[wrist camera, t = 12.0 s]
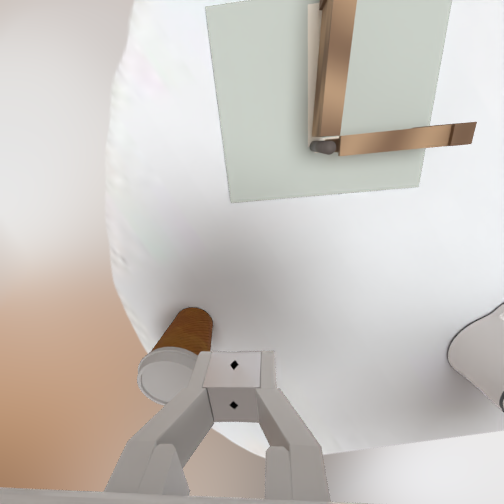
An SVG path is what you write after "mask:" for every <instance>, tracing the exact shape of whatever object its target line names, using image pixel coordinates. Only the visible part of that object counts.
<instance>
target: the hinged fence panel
mask: <svg viewBox="0 0 504 504" xmlns="http://www.w3.org/2000/svg"><path fill="white" fill-rule="evenodd" d="M356 5H357V0H320V4H319V10H322V18H321V30H320V42H319V55H318V67H317V79H316V91H315V103H314V115H313V127H312V137H326V136H340V132H341V124H342V116H343V108H344V100H345V92H346V84H347V76H348V68H349V60H350V52H351V44H352V37H353V29H354V21H355V13H356Z"/></svg>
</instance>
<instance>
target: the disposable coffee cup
mask: <svg viewBox="0 0 504 504" xmlns="http://www.w3.org/2000/svg"><path fill="white" fill-rule="evenodd" d="M212 327H213V321H212V319H211V317H210V315H209V314H208V313H207V312H205V311H204V310H202V309H199V308H186V309H183V310H182V311H180V312H179V313H178V315H177V316H176V318H175V319H174V321H173V322H172V323H171V325H170V326H169V327H168V329H167V330H166V332H165V333H164V334H163V336H162V337H161V339H160V340H159V341H158V343H157V344H156V345H155V347H154V348H153V350H152V351H151V352H150V353H149V354H147V355H146V356H145V357H144V358H143V359H142V360H141V362H140V364H139V366H138V377H137V383H138V386H139V388H140V390H141V391H142V392H143V393H144V394H145V396H146V397H147V398H149V399H150V400H152V401H154V402H156V403H158V404H161V405H164V406H165V405H166V404H167V403H168V402H169V401H170V400H172V399H173V398H174V397H175V396H176V395H177V394H178V393H179V392H180V391H181V390H182V389H183V388H187V387H188V384H189V381H190V378H191V375H192V372H193V370H194V367H195V364H196V361H197V358H198V355H199V353H200V352H201V351H210V347H211V337H212Z"/></svg>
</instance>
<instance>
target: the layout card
mask: <svg viewBox="0 0 504 504" xmlns="http://www.w3.org/2000/svg"><path fill="white" fill-rule="evenodd" d="M451 3H452V0H357V5H356V13H355V21H354V29H353V37H352V44H351V52H350V60H349V68H348V76H347V84H346V92H345V100H344V108H343V116H342V124H341V132H340V136H344V135H354V134H363V133H373V132H383V131H392V130H402V129H411V128H415V127H424V126H430V121H431V115H432V110H433V104H434V98H435V93H436V87H437V82H438V76H439V70H440V65H441V59H442V54H443V48H444V43H445V37H446V31H447V26H448V20H449V15H450V9H451ZM319 4H320V0H246V1H240V2H233V3H226V4H220V5H213V6H206V7H205V9H206V17H207V24H208V32H209V40H210V47H211V55H212V62H213V70H214V78H215V85H216V93H217V101H218V108H219V116H220V123H221V131H222V139H223V146H224V154H225V161H226V169H227V177H228V184H229V192H230V199H231V203H237V202H249V201H261V200H272V199H284V198H296V197H307V196H319V195H331V194H342V193H354V192H366V191H377V190H389V189H401V188H412V187H419V182H420V177H421V171H422V165H423V160H424V154H425V149H426V148H420V149H410V150H399V151H389V152H379V153H369V154H358V155H348V156H338V153H337V152H334V153H333V154H330V155H327V154H323V153H318V152H314V151H311V150H310V144H311V142H312V141H325V140H326V139H336V138H339V136H326V137H312V127H313V115H314V103H315V91H316V79H317V67H318V55H319V42H320V30H321V18H322V10H319Z"/></svg>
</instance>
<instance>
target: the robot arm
mask: <svg viewBox="0 0 504 504" xmlns="http://www.w3.org/2000/svg"><path fill="white" fill-rule="evenodd" d="M448 360H449V363H450V365H451V366H452V368H453V369H455V370H456V371H457V372H458V373H460V374H461V375H463V376H464V377H465V378H466V379H468V380H469V381H470V382H471V383H472V384H473V385H474V386H475V387H476V388H478V389H479V390H480V391H481V392H482V393H484V394H485V395H486V396H487V397H488V398H489V399H490V400H491V401H492V402H493V403H494V404H495V405H496V406H497V407H498V408H499V409H501V410H502V411H503V412H504V304H503V305H501V306H500V307H499V308H497V309H496V310H495V311H494V312H493V313H492V314H490V315H488V316H486V317H484V318H482V319H480V320H478V321H476V322H474V323H472V324H471V325H469V326H468V327H466V328H465V329H464V330H462V331H461V332H460V333H459V334H458V335H457V336H456V338H455V339H454V340H453V342H452V343H451V345H450V348H449V351H448ZM214 422H257V423H259V424H260V426H261V428H262V430H263V432H264V434H265V436H266V438H267V440H268V443H269V445H270V447H269V448H268V449H267V451H266V471H265V472H266V473H265V499H252V498H230V497H229V498H228V497H206V496H189V492H190V490H189V487H188V484H187V481H186V478H185V475H184V472H183V467H184V466H185V464H186V463H187V461H188V460H189V459H190V457H191V456H192V454H193V453H194V451H195V450H196V449H197V447H198V446H199V444H200V443H201V441H202V440H203V439H204V437H205V436H206V434H207V433H208V431H209V430H210V429H211V427H212V426H213V424H214ZM0 504H366V503H344V502H331V501H330V495H329V489H328V483H327V477H326V472H325V466H324V461H323V454H322V448H321V446H320V444H319V443H318V441H317V440H316V439H315V437H314V436H313V434H312V433H311V432H310V430H309V429H308V427H307V426H306V425H305V423H304V422H303V420H302V419H301V417H300V416H299V415H298V413H297V412H296V410H295V409H294V408H293V406H292V405H291V403H290V402H289V401H288V399H287V398H286V396H285V395H284V394H283V392H282V391H281V389H280V388H277V383H276V365H275V351H237V352H227V351H213V352H212V351H201V352H200V353H199V355H198V358H197V361H196V364H195V367H194V370H193V372H192V375H191V378H190V381H189V384H188V387H187V388H183V389H182V390H181V391H180V392H179V393H178V394H177V395H176V396H175V397H174V398H173V399H172V400H170V401H169V402H168V403H167V404H166V405H165V406H164V407H163V408H162V409H161V410H160V411H159V412H158V413H157V414H156V415H155V416H154V417H153V418H152V419H151V420H149V421H148V422H147V423H146V424H145V425H144V426H143V427H142V428H141V429H140V430H139V431H138V432H137V433H136V434H135V435H134V436H133V437H132V438H131V439H130V440H129V441H128V442H127V444H126V446H125V448H124V450H123V452H122V454H121V456H120V459H119V460H118V463H117V465H116V467H115V469H114V471H113V473H112V475H111V477H110V480H109V481H108V484H107V486H106V488H105V490H104V492H92V491H69V490H68V491H67V490H44V489H23V488H1V487H0Z"/></svg>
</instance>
